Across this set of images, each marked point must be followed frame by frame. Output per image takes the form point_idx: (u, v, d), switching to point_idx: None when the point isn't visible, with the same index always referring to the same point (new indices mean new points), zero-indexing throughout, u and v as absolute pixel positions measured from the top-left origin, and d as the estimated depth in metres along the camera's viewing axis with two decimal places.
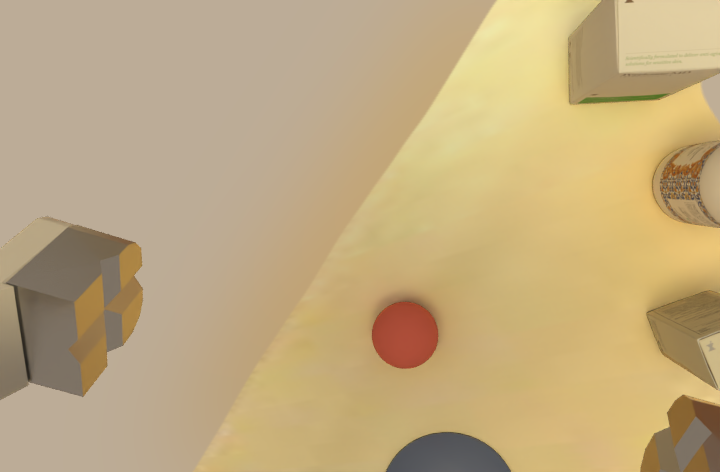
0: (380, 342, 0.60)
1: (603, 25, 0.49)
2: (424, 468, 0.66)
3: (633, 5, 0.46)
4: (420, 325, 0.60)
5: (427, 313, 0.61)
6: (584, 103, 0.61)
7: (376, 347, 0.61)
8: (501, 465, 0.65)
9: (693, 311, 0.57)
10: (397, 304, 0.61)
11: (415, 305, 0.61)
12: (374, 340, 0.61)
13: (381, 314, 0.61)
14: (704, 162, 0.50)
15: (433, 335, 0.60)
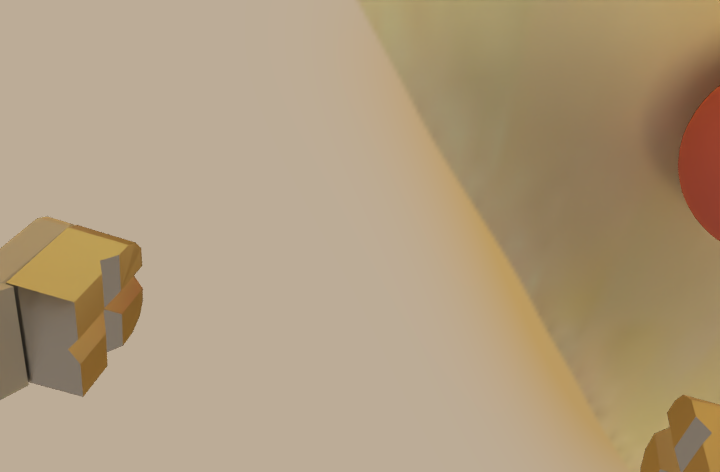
0: None
1: None
2: None
3: None
4: None
5: None
6: None
7: None
8: None
9: None
10: (693, 140, 0.20)
11: None
12: None
13: (688, 195, 0.20)
14: None
15: None
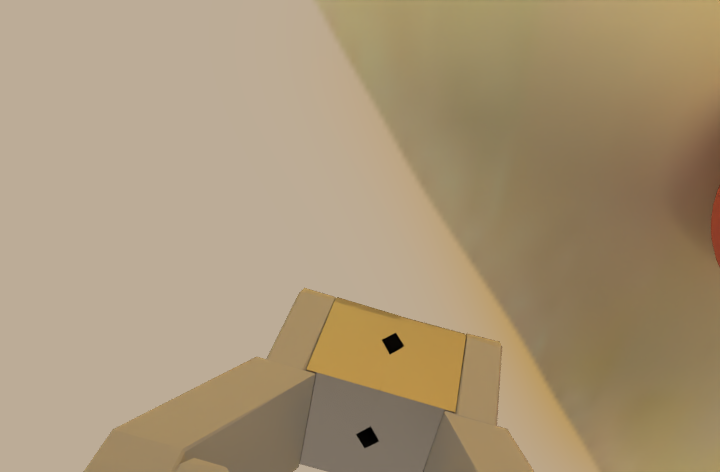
0: None
1: None
2: None
3: None
4: None
5: None
6: None
7: None
8: None
9: None
10: None
11: None
12: None
13: None
14: None
15: None
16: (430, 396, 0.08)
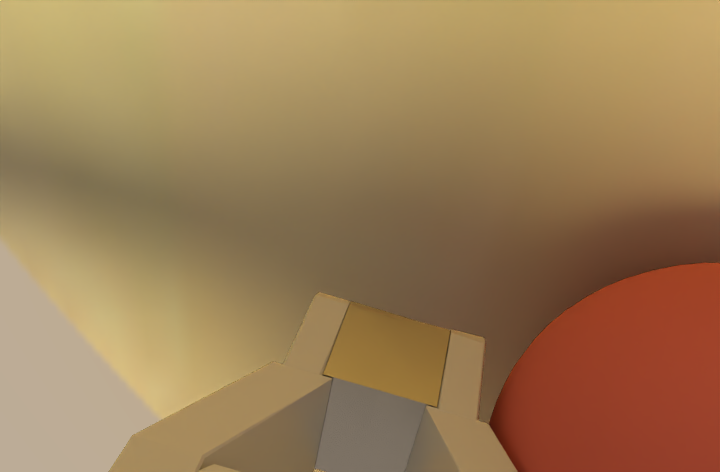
0: None
1: None
2: None
3: None
4: None
5: None
6: None
7: None
8: None
9: None
10: None
11: (595, 413, 0.07)
12: None
13: None
14: None
15: None
16: (412, 391, 0.08)
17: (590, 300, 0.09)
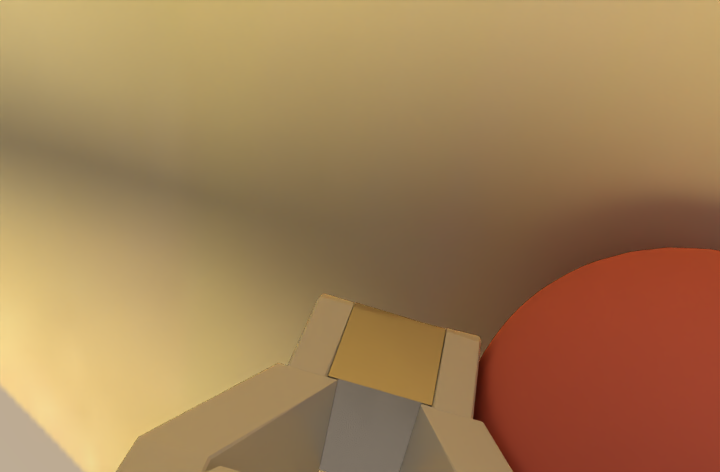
0: None
1: None
2: None
3: None
4: None
5: None
6: None
7: None
8: None
9: None
10: None
11: (635, 452, 0.07)
12: None
13: None
14: None
15: None
16: (407, 390, 0.08)
17: (554, 318, 0.08)
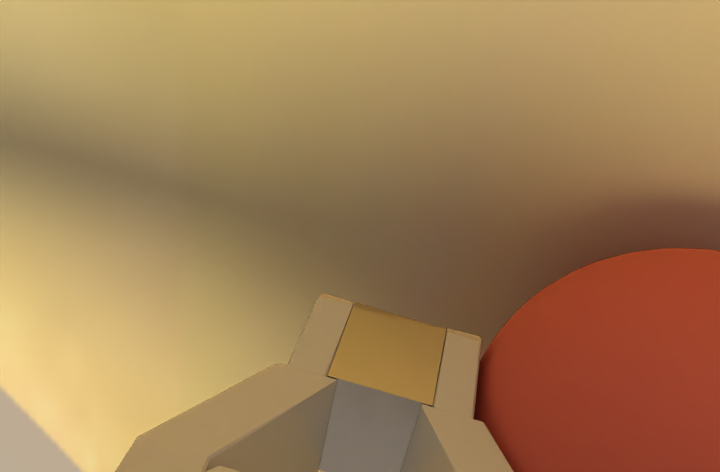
0: None
1: None
2: None
3: None
4: None
5: None
6: None
7: None
8: None
9: None
10: None
11: (635, 453, 0.07)
12: None
13: None
14: None
15: None
16: (408, 390, 0.08)
17: (555, 318, 0.08)
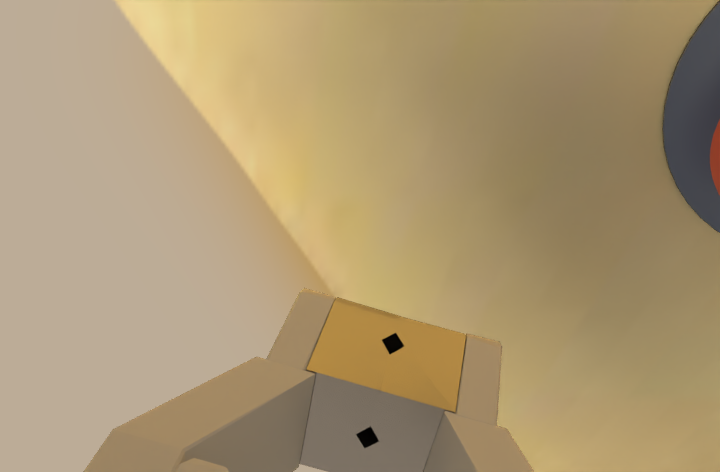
0: None
1: None
2: None
3: None
4: None
5: None
6: None
7: None
8: None
9: None
10: None
11: None
12: None
13: None
14: None
15: None
16: (430, 396, 0.08)
17: None
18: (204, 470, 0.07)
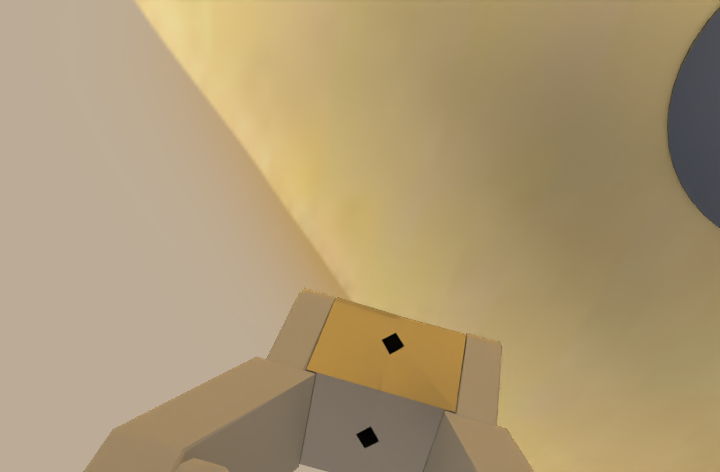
0: None
1: None
2: None
3: None
4: None
5: None
6: None
7: None
8: None
9: None
10: None
11: None
12: None
13: None
14: None
15: None
16: (430, 396, 0.08)
17: None
18: (204, 470, 0.07)
